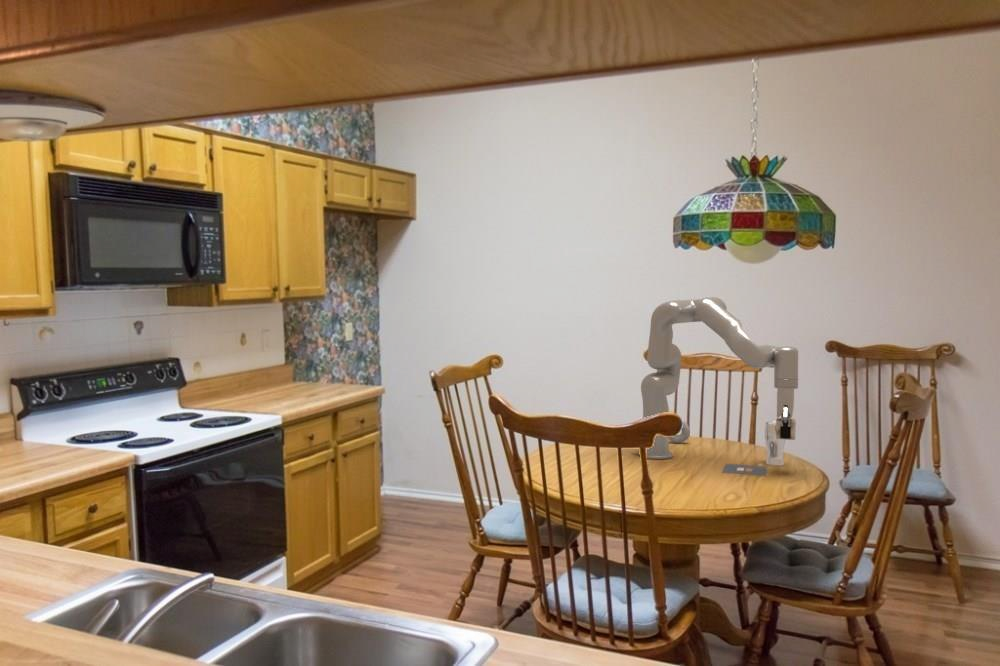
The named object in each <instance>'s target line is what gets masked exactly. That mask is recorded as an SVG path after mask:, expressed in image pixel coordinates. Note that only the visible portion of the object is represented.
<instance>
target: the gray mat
mask: <svg viewBox="0 0 1000 666" xmlns="http://www.w3.org/2000/svg"><path fill="white" fill-rule="evenodd" d="M767 469H768V466H763V465H751V464H739V463H738V464H735V463H725V464H724V467H723V469H722V471H721V473H723V474H734V475H736V474H737V475H748V476H756V477H757V476H758V477H759V476H762V477H766V474H767Z"/></svg>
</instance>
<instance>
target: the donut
mask: <svg viewBox="0 0 1000 666" xmlns="http://www.w3.org/2000/svg"><path fill="white" fill-rule="evenodd" d="M690 434H691V429H690V427H689V424H688V423H687V422H686V421H684V420H683V428H682V430H681V433H680V434H676V436H674V437H669V442H672V443H674V444H682V443H684V442H686V441H687V440H688V439H689V438H690Z"/></svg>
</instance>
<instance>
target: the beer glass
mask: <svg viewBox="0 0 1000 666" xmlns="http://www.w3.org/2000/svg"><path fill="white" fill-rule="evenodd" d="M764 427H765V428H764V441H765V447H766V461H765V463H766V464H767V465H769V466H770V465H771V466H784V465H785V463H784V449H785V445H786V439H776V421H766V422H765V426H764Z"/></svg>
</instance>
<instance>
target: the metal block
mask: <svg viewBox="0 0 1000 666" xmlns="http://www.w3.org/2000/svg"><path fill="white" fill-rule="evenodd" d="M787 420H788V419H787ZM796 420H797V419H795V418H790V427H791V438H790V439H787V438H781V437H780V426H781V417H780V418H778V417H776V420H775V422H776V439H785V440H790V441H795V440H796V426H797V425H796Z"/></svg>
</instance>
